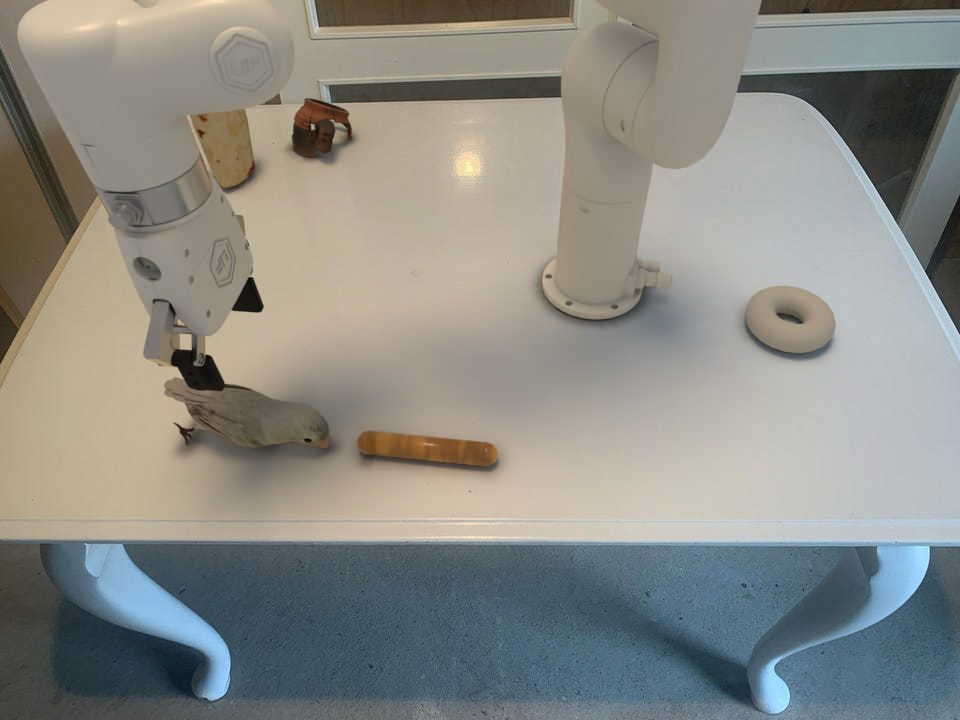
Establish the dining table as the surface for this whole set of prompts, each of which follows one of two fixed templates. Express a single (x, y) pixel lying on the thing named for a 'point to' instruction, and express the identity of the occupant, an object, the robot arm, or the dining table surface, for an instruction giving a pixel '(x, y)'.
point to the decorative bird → (249, 416)
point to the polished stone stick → (427, 448)
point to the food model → (226, 145)
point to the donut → (783, 333)
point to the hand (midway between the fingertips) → (229, 346)
